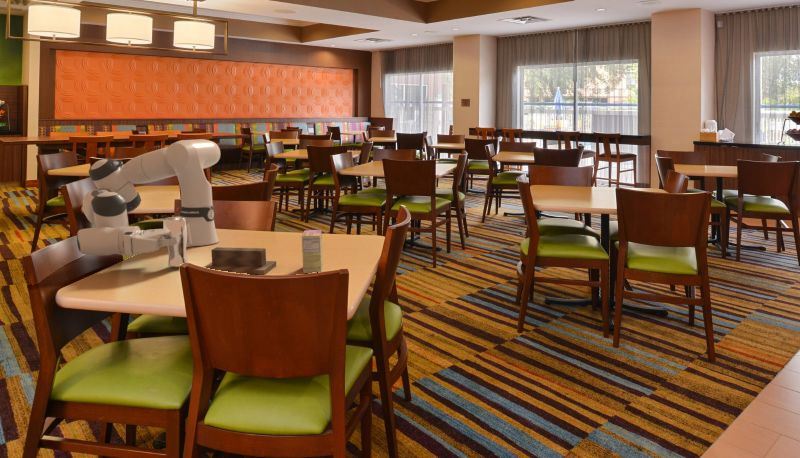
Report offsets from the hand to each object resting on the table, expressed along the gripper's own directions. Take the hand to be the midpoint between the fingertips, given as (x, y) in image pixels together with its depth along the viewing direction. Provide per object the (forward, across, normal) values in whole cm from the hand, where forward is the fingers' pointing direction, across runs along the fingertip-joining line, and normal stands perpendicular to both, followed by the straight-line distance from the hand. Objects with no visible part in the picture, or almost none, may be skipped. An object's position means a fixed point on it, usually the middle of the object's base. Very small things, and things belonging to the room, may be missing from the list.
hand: (178, 239), depth 194 cm
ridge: (+19, +5, -9) cm, 22 cm away
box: (+42, +9, -10) cm, 44 cm away
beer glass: (-1, 0, -9) cm, 9 cm away
